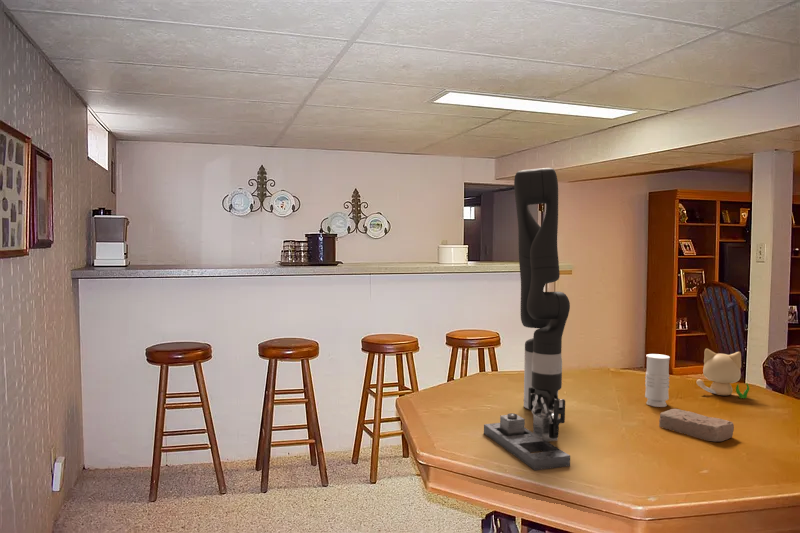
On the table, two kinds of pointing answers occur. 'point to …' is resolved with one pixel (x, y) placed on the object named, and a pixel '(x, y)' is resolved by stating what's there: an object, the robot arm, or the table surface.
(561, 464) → the grey slotted board
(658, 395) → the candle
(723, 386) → the kitten
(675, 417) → the brick
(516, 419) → the knobbed grey cube
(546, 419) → the cube with silver knob
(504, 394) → the table surface
